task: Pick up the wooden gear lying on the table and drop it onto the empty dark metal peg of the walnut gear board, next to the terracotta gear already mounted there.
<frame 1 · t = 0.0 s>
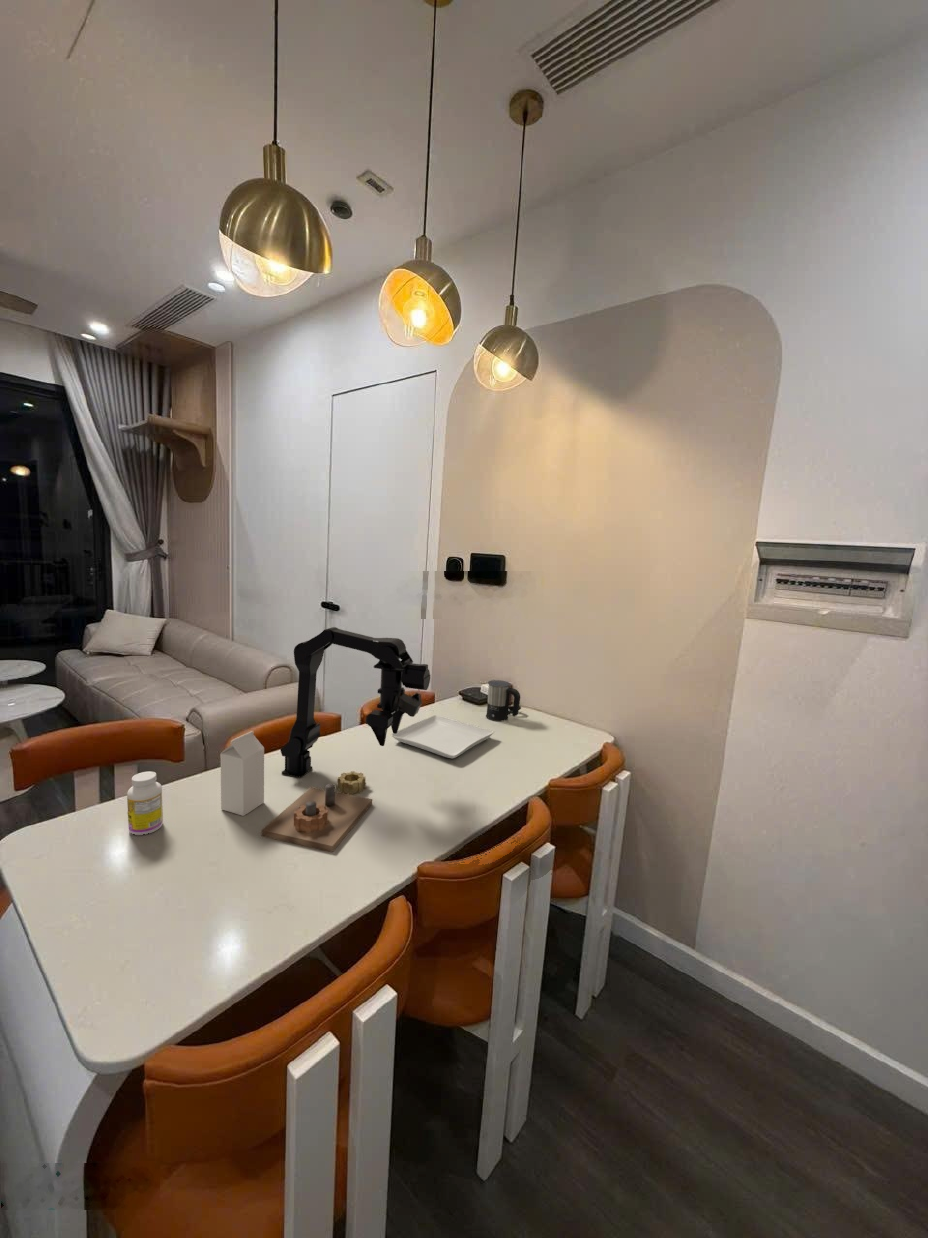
hand: (388, 739, 133), 15 cm above the table, tool pointing down, fingers open, 9 cm apart
square plate: (443, 742, 171), on the table
gear board: (320, 819, 118), on the table
supplement bottle: (146, 829, 110), on the table
milk frother: (503, 716, 201), on the table
milk carton: (242, 807, 122), on the table
wooden gear: (351, 787, 134), on the table
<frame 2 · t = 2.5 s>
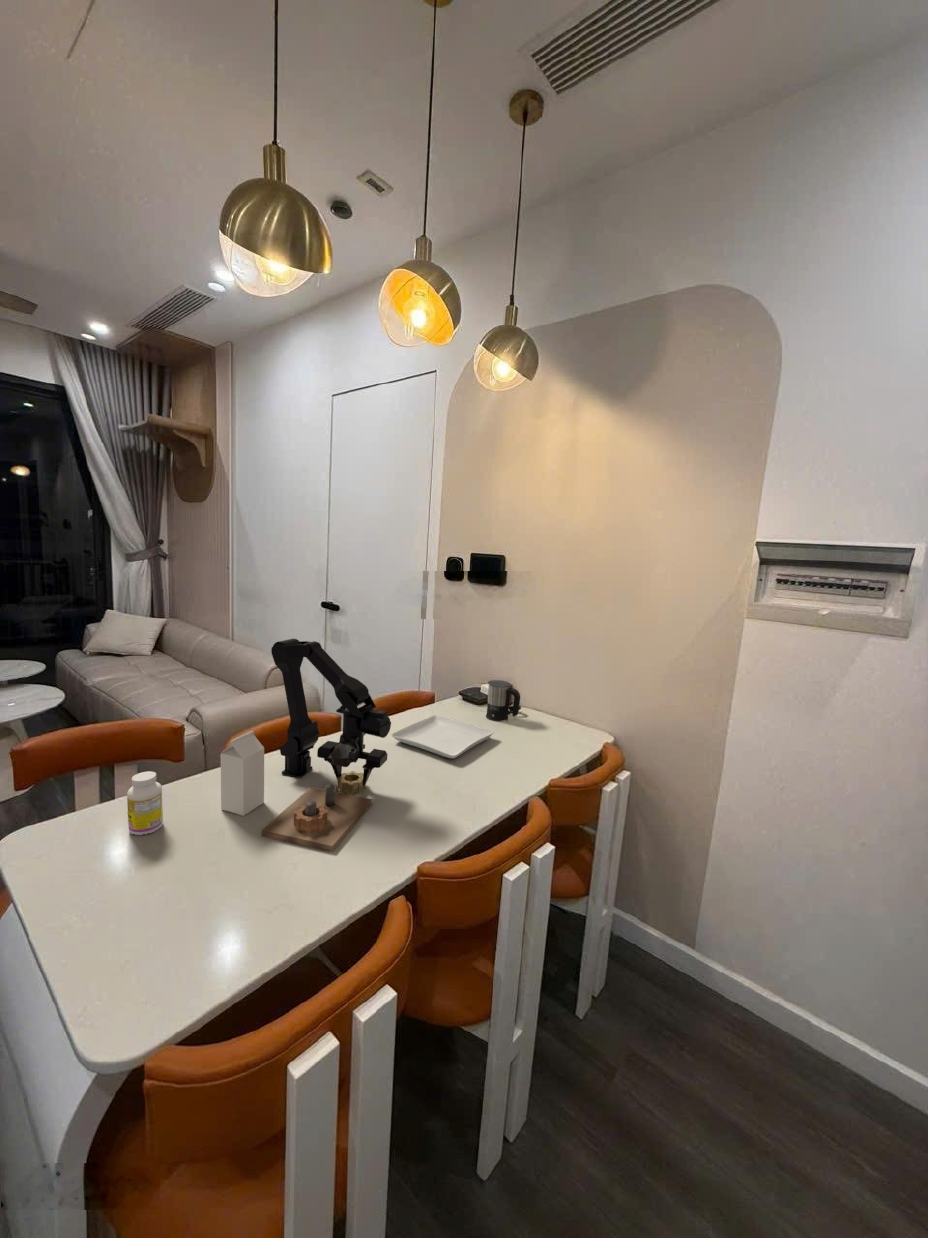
hand: (351, 782, 134), 2 cm above the table, tool pointing down, fingers closed on wooden gear, 7 cm apart
wooden gear: (351, 787, 134), on the table, touching gripper
everything else where it was.
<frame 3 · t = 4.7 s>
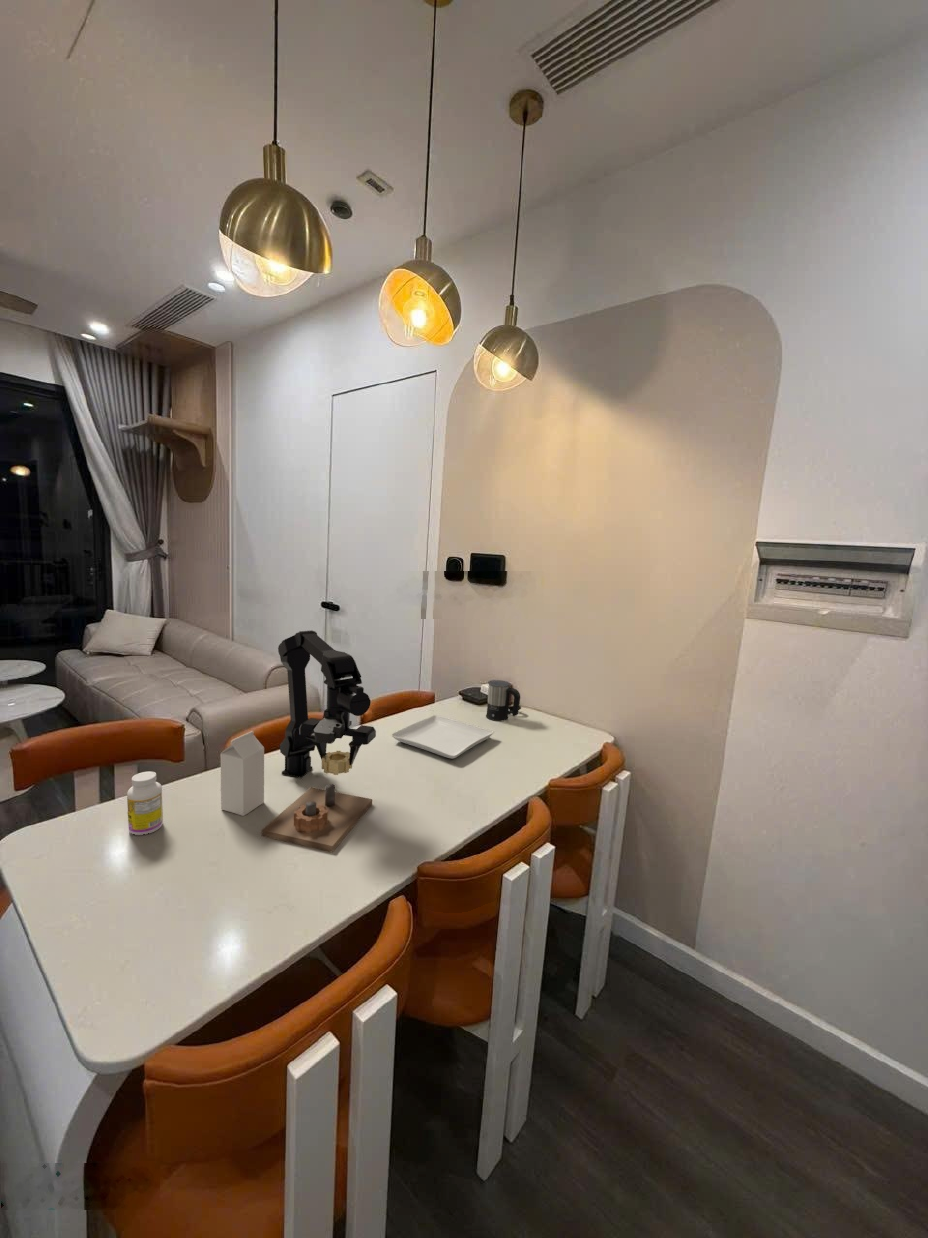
hand: (337, 762, 124), 12 cm above the table, tool pointing down, fingers closed on wooden gear, 7 cm apart
wooden gear: (337, 768, 124), point 10 cm above the table, touching gripper
everything else where it was.
when the fingers open (5 cm above the table, at t = 7.1 s): wooden gear drops 2 cm, resting on gear board.
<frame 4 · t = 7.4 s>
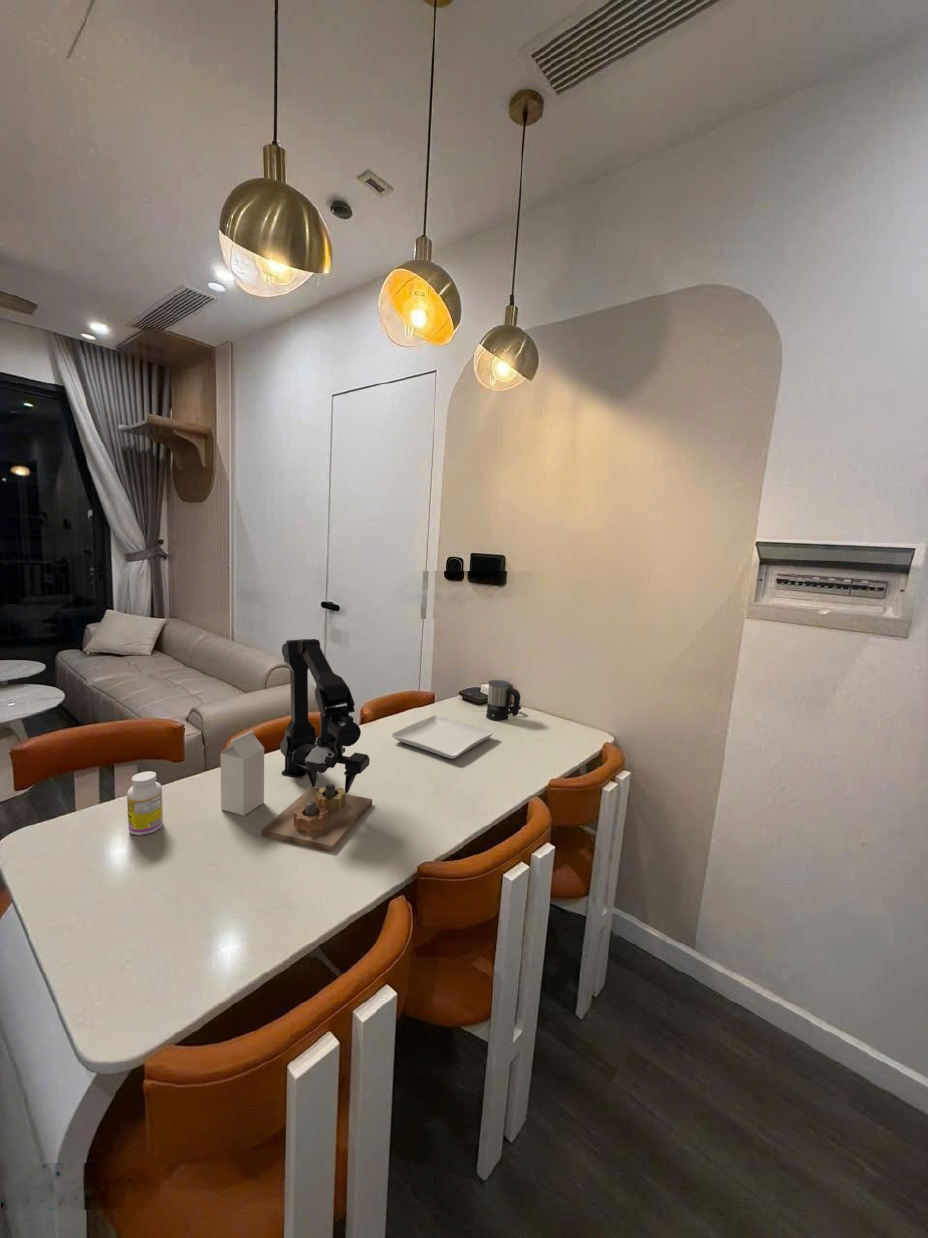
hand: (330, 789, 122), 5 cm above the table, tool pointing down, fingers open, 9 cm apart
wooden gear: (330, 804, 123), point 1 cm above the table, touching gear board
everything else where it was.
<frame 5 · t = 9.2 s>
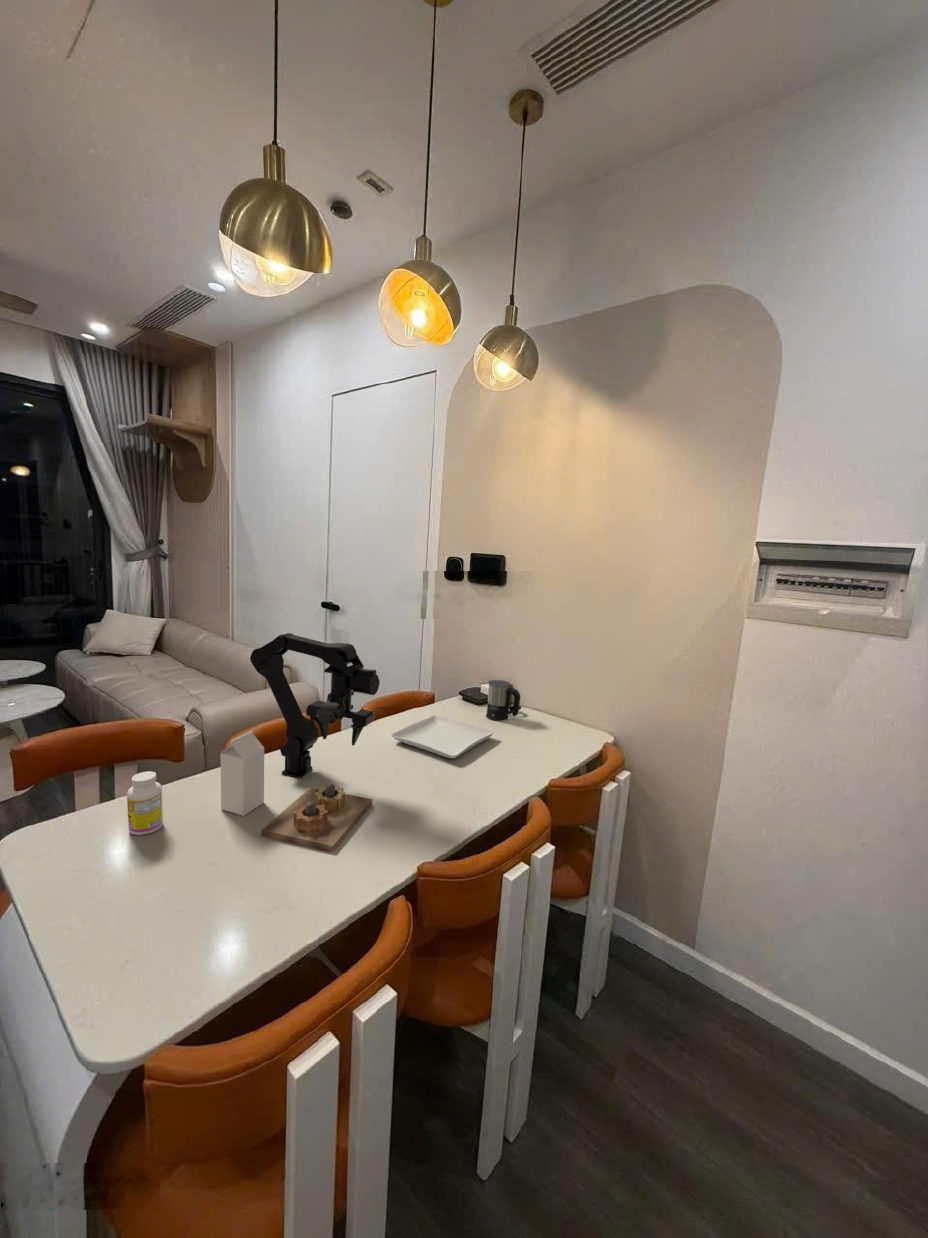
hand: (339, 742, 136), 12 cm above the table, tool pointing down, fingers open, 9 cm apart
nothing on the table moved.
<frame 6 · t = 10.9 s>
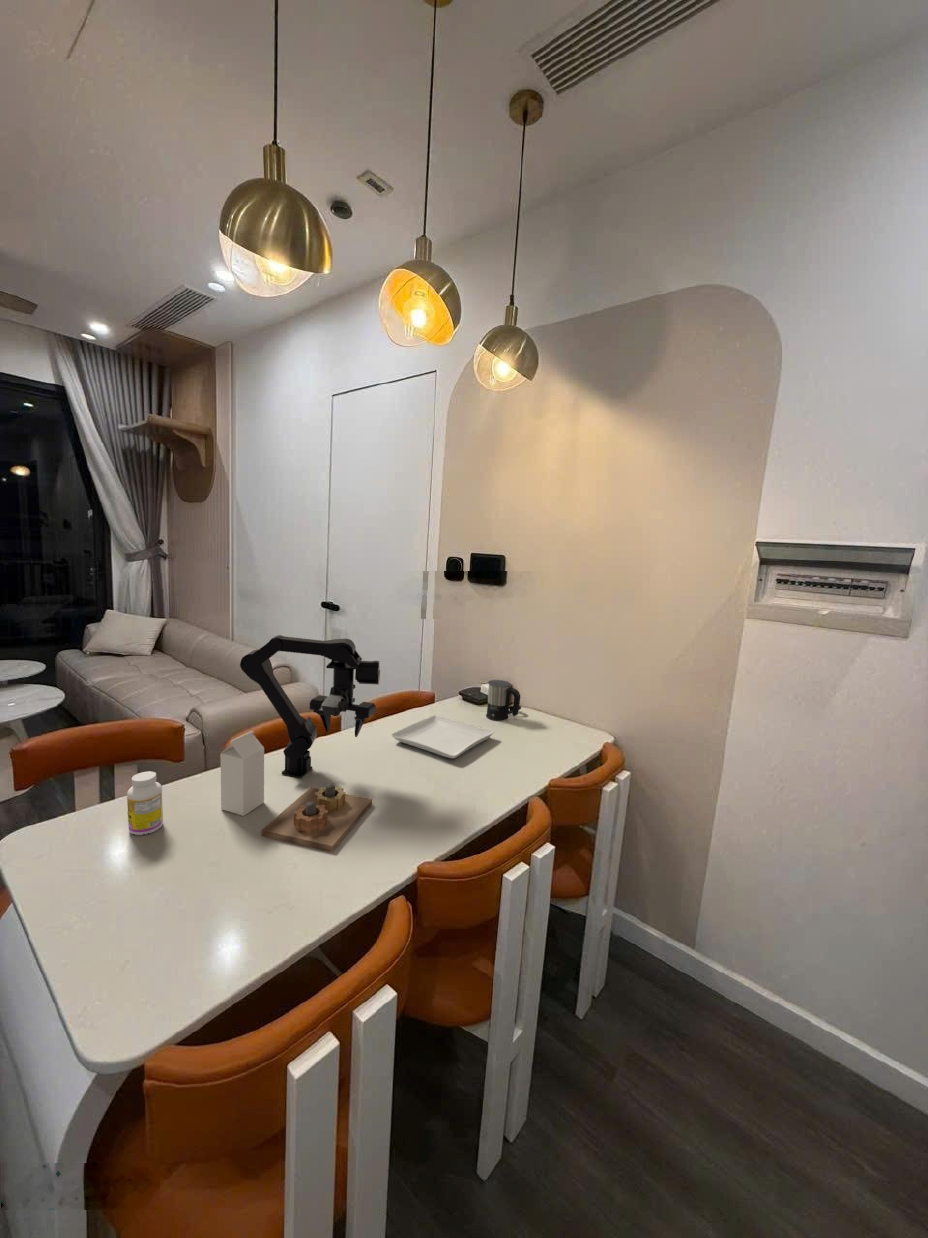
hand: (341, 734, 141), 12 cm above the table, tool pointing down, fingers open, 9 cm apart
nothing on the table moved.
at the end: wooden gear 0.1 cm from the target spot on the gear board, point 1.5 cm above the gear board's base; wooden gear tilted 0°; the gripper is holding nothing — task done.
